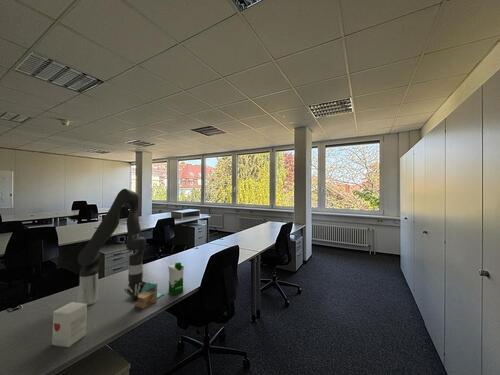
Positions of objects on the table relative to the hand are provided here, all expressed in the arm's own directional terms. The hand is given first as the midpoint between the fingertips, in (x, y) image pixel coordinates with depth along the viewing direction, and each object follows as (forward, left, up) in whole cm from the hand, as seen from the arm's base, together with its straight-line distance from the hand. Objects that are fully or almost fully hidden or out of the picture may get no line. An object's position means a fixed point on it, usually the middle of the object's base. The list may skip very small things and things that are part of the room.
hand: (135, 301), depth 128 cm
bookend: (+16, +7, -4) cm, 17 cm away
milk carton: (+26, -8, -4) cm, 27 cm away
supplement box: (-31, +4, -4) cm, 32 cm away
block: (+7, -1, -4) cm, 8 cm away
